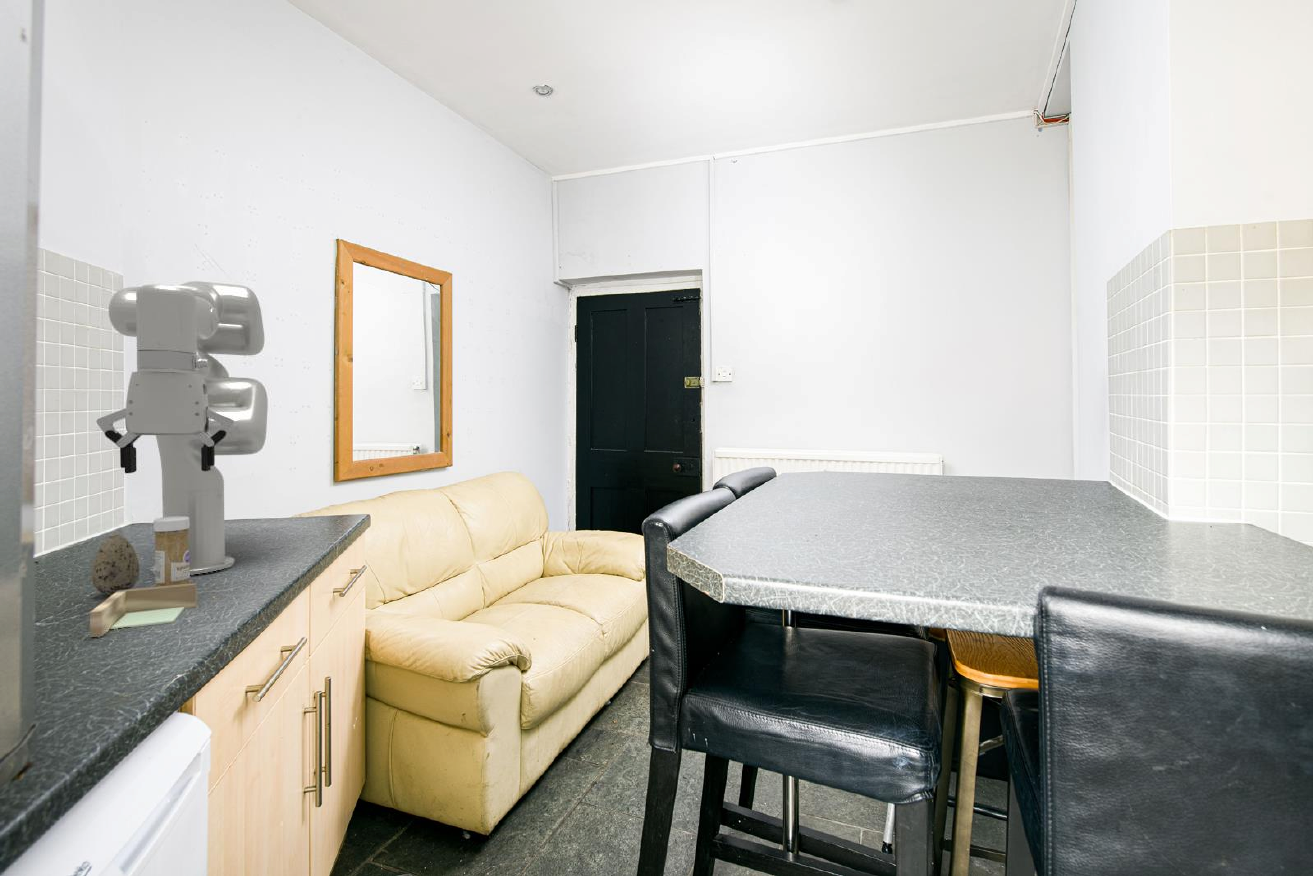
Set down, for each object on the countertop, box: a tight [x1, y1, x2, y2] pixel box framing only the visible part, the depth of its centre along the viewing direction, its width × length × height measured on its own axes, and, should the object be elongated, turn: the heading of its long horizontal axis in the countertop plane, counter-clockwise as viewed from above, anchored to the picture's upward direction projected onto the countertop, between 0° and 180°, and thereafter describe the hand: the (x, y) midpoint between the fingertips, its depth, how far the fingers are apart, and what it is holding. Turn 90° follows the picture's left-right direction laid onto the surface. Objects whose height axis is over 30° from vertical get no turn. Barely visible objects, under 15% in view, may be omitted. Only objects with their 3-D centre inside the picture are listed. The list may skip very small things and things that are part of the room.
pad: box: [110, 607, 186, 630], centre depth 89 cm, size 7×7×1 cm
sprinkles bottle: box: [152, 516, 191, 587], centre depth 98 cm, size 5×5×13 cm
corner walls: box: [89, 582, 198, 638], centre depth 89 cm, size 12×10×4 cm
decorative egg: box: [91, 534, 140, 596], centre depth 101 cm, size 6×6×10 cm
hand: (169, 471), depth 97 cm, fingers open, 9 cm apart
